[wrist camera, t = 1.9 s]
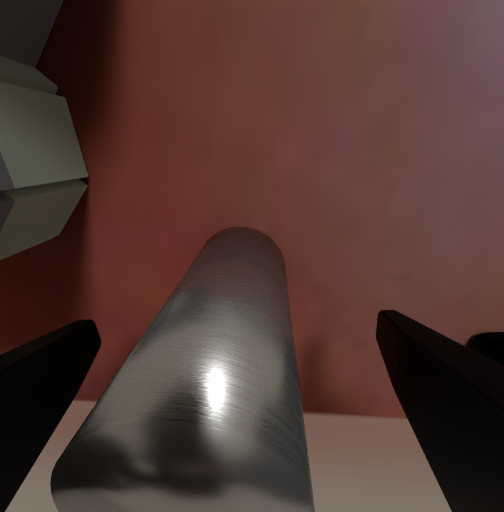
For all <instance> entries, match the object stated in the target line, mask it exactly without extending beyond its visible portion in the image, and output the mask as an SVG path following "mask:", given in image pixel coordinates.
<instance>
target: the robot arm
mask: <svg viewBox="0 0 504 512" xmlns="http://www.w3.org/2000/svg"><path fill="white" fill-rule="evenodd" d="M376 339H377V343H378V346H379V348H380V351H381V354H382V357H383V360H384V363H385V366H386V369H387V371H388V374H389V377H390V380H391V383H392V386H393V388H394V391H395V393H396V395H397V397H398V399H399V402H400V404H401V406H402V408H403V410H404V412H405V414H406V416H407V418H408V420H409V423H410V424H411V427H412V429H413V431H414V433H415V435H416V437H417V439H418V441H419V443H420V446H421V448H422V450H423V452H424V454H425V456H426V458H427V460H428V462H429V465H430V467H431V469H432V471H433V473H434V475H435V477H436V479H437V481H438V483H439V486H440V487H441V490H442V491H443V494H444V496H445V498H446V500H447V502H448V504H449V507H450V509H451V511H452V512H504V332H486V333H482V334H479V335H478V336H477V337H475V339H474V341H473V343H472V347H471V349H469V348H467V347H465V346H463V345H461V344H459V343H457V342H456V341H454V340H452V339H450V338H448V337H446V336H444V335H442V334H440V333H438V332H436V331H434V330H432V329H430V328H428V327H426V326H424V325H423V324H421V323H419V322H417V321H415V320H413V319H411V318H409V317H407V316H405V315H403V314H401V313H399V312H397V311H395V310H381V311H380V312H379V313H378V319H377V329H376ZM486 344H487V345H486ZM100 346H101V339H100V336H99V333H98V330H97V327H96V324H95V322H94V321H93V320H91V319H86V320H77V321H75V322H73V323H71V324H68V325H66V326H64V327H62V328H59V329H57V330H55V331H53V332H50V333H48V334H46V335H44V336H41V337H39V338H37V339H35V340H32V341H30V342H28V343H26V344H23V345H21V346H19V347H17V348H14V349H12V350H10V351H8V352H5V353H3V354H1V355H0V512H5V511H6V509H7V507H8V506H9V504H10V502H11V501H12V499H13V498H14V496H15V494H16V493H17V491H18V489H19V488H20V486H21V484H22V483H23V481H24V480H25V478H26V476H27V475H28V473H29V471H30V470H31V468H32V466H33V465H34V463H35V462H36V460H37V458H38V457H39V455H40V453H41V452H42V450H43V448H44V447H45V445H46V443H47V442H48V440H49V439H50V437H51V435H52V434H53V432H54V430H55V429H56V427H57V426H58V424H59V422H60V421H61V419H62V417H63V415H64V414H65V412H66V411H67V409H68V407H69V406H70V404H71V403H72V401H73V399H74V398H75V396H76V394H77V392H78V391H79V389H80V387H81V385H82V383H83V381H84V379H85V377H86V375H87V373H88V371H89V369H90V367H91V365H92V363H93V361H94V359H95V357H96V355H97V353H98V351H99V349H100Z"/></svg>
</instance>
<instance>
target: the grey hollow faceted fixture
mask: <svg viewBox="0 0 504 512" xmlns="http://www.w3.org/2000/svg"><path fill="white" fill-rule="evenodd" d="M63 1H64V0H0V56H2V57H5V58H8V59H10V60H13V61H16V62H19V63H22V64H25V65H28V66H31V67H34V68H35V67H36V65H37V63H38V60H39V58H40V56H41V53H42V51H43V49H44V46H45V44H46V41H47V39H48V37H49V34H50V32H51V30H52V27H53V25H54V22H55V20H56V18H57V15H58V13H59V11H60V8H61V6H62V3H63ZM9 189H15V187H14V185H13V182H12V179H11V177H10V174H9V172H8V169H7V167H6V164H5V162H4V159H3V157H2V154H1V152H0V232H1V230H2V228H3V226H4V223H5V221H6V219H7V217H8V215H9V213H10V211H11V209H12V207H13V205H14V203H15V200H14V199H12V198H11V197H9V196H8V195H7V194H5V193H4V192H2V191H3V190H9Z"/></svg>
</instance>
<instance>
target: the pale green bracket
mask: <svg viewBox="0 0 504 512" xmlns="http://www.w3.org/2000/svg"><path fill="white" fill-rule="evenodd" d="M57 90H58V86H57V85H55V84H54V83H53V82H52V81H51V80H49V79H48V78H47V77H46V76H44V75H43V74H42V73H41V72H40V71H38V70H37V69H36V68H34V67H31V66H28V65H25V64H22V63H19V62H16V61H13V60H10V59H8V58H5V57H2V56H0V152H1V154H2V157H3V159H4V162H5V164H6V167H7V169H8V172H9V174H10V177H11V179H12V182H13V185H14V187H15V189H9V190H3V191H2V192H4V193H5V194H7V195H8V196H9V197H11V198H12V199H14V200H15V203H14V205H13V207H12V209H11V211H10V213H9V215H8V217H7V219H6V221H5V223H4V226H3V228H2V230H1V232H0V260H2V259H5V258H7V257H10V256H12V255H14V254H17V253H19V252H22V251H24V250H26V249H29V248H31V247H34V246H36V245H38V244H41V243H43V242H46V241H48V240H50V239H53V237H55V236H58V235H60V233H61V231H62V230H63V228H64V226H65V224H66V223H67V221H68V219H69V217H70V216H71V214H72V212H73V211H74V209H75V207H76V205H77V204H78V202H79V200H80V199H81V197H82V195H83V193H84V192H85V190H86V188H87V186H88V185H86V184H85V183H84V182H82V181H81V180H80V179H78V178H84V177H89V176H88V173H87V169H86V166H85V163H84V159H83V156H82V152H81V149H80V146H79V142H78V139H77V135H76V132H75V129H74V125H73V122H72V118H71V115H70V111H69V108H68V105H67V101H66V98H65V97H61V96H57V95H55V94H56V92H57Z"/></svg>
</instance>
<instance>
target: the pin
mask: <svg viewBox="0 0 504 512" xmlns="http://www.w3.org/2000/svg"><path fill="white" fill-rule="evenodd" d="M50 483H51V493H52V497H53V500H54V503H55V505H56V507H57V509H58V511H59V512H315V510H314V501H313V493H312V485H311V477H310V468H309V460H308V452H307V444H306V436H305V428H304V419H303V411H302V403H301V394H300V386H299V378H298V370H297V362H296V353H295V345H294V337H293V329H292V321H291V312H290V304H289V296H288V288H287V280H286V271H285V263H284V258H283V255H282V253H281V251H280V249H279V247H278V246H277V244H276V243H275V242H274V241H273V240H272V239H271V238H270V237H268V236H267V235H266V234H264V233H262V232H260V231H258V230H255V229H252V228H248V227H232V228H228V229H224V230H222V231H220V232H218V233H216V234H215V235H213V236H212V237H211V238H210V239H209V240H208V241H207V242H206V243H205V245H204V246H203V248H202V249H201V251H200V252H199V254H198V255H197V256H196V258H195V259H194V261H193V262H192V264H191V265H190V267H189V268H188V270H187V271H186V273H185V274H184V276H183V277H182V278H181V280H180V281H179V283H178V284H177V286H176V287H175V289H174V290H173V292H172V293H171V295H170V296H169V298H168V299H167V301H166V302H165V303H164V305H163V306H162V308H161V309H160V311H159V312H158V314H157V315H156V317H155V318H154V320H153V321H152V323H151V324H150V325H149V327H148V328H147V330H146V331H145V333H144V334H143V336H142V337H141V339H140V340H139V342H138V343H137V345H136V346H135V347H134V349H133V350H132V352H131V353H130V355H129V356H128V358H127V359H126V361H125V362H124V364H123V365H122V367H121V368H120V369H119V371H118V372H117V374H116V375H115V377H114V378H113V380H112V381H111V383H110V384H109V386H108V387H107V389H106V390H105V391H104V393H103V394H102V396H101V397H100V399H99V400H98V402H97V403H96V405H95V406H94V408H93V409H92V411H91V412H90V414H89V415H88V416H87V418H86V419H85V421H84V422H83V424H82V425H81V427H80V428H79V430H78V431H77V433H76V434H75V436H74V437H73V438H72V440H71V441H70V443H69V445H68V446H67V447H66V449H65V450H64V452H63V453H62V455H61V456H60V458H59V459H58V460H57V462H56V464H55V467H54V469H53V471H52V476H51V482H50Z"/></svg>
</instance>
